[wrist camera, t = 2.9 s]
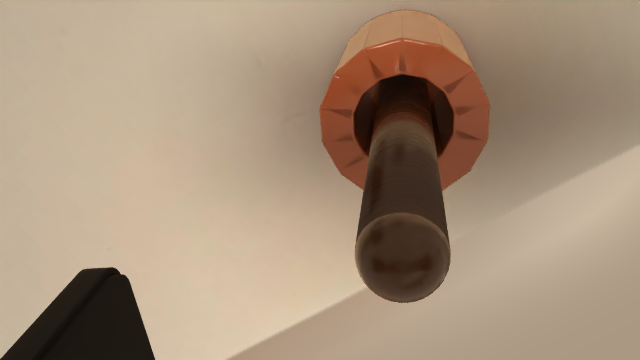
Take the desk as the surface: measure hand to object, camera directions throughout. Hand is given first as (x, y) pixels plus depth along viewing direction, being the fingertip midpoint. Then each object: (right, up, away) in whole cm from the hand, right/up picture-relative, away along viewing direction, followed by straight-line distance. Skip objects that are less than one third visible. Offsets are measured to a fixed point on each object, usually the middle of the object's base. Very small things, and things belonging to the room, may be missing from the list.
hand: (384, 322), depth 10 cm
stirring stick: (+3, +7, +15) cm, 17 cm away
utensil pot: (+3, +7, +16) cm, 18 cm away
